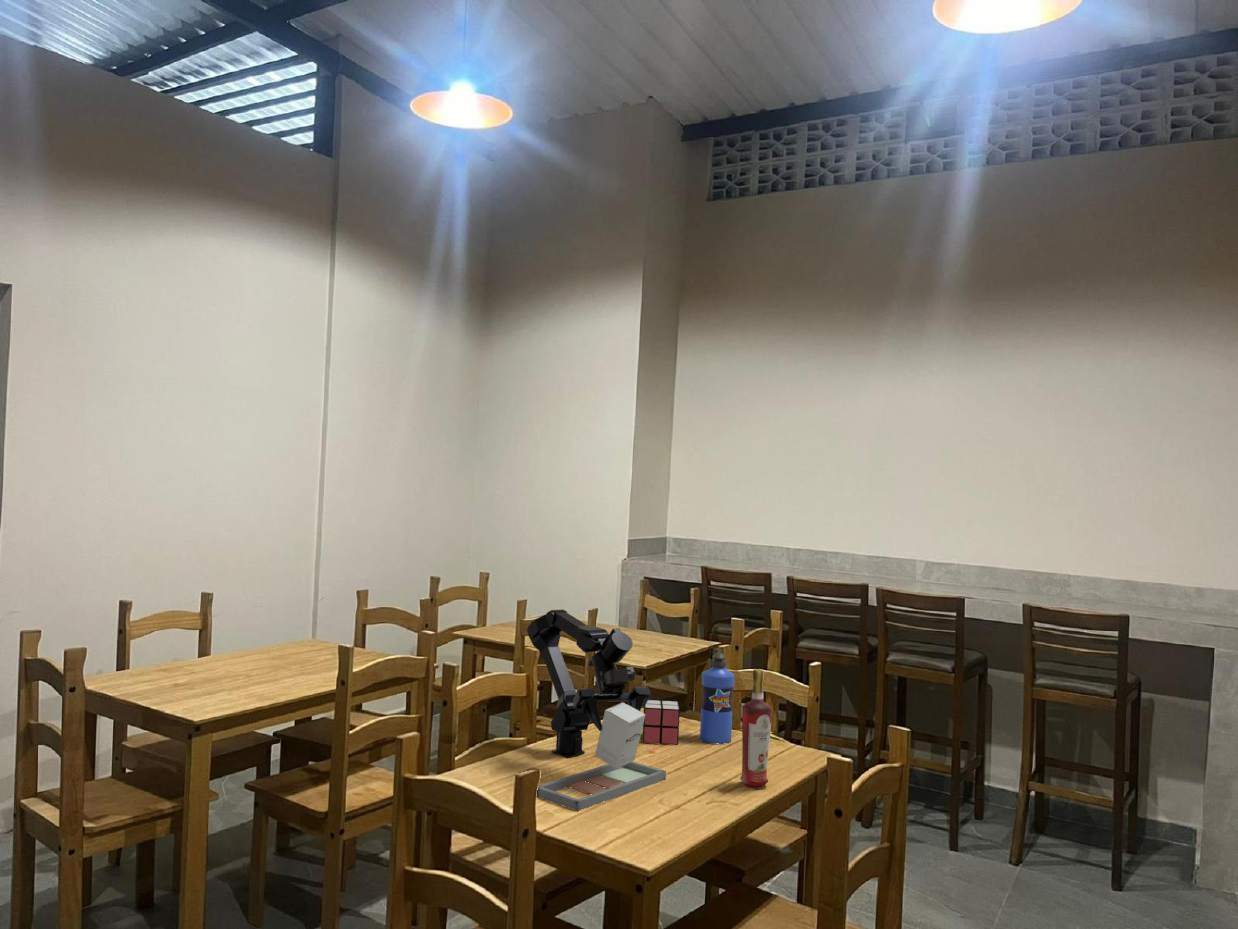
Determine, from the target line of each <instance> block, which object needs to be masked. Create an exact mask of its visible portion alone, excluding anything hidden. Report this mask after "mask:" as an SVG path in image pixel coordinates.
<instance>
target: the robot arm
mask: <svg viewBox="0 0 1238 929" xmlns="http://www.w3.org/2000/svg"><path fill="white" fill-rule="evenodd" d="M562 632H563V633H565V634H566V635H568V636H570V637H571V638H572V639H574V640H575V644H576V646H577V647H578V648H579V649H580V650H581V651H582V652H583V653H594V654H593V655H592V656H591V658H590V660H589V661H588V667H591V668H593V672H594V676H595V682H594V685H595V687H597V690H598V693H595V689H594V688H591V687H588V688H586V687H585V688H578V690H577V691H576V689H575V686H574V684H573V682H572V678H571V675H570V673H569V670H568V668H567V665H566V662H565V660H564V657H563V654H562V651H561V649H560V647H559V644H560V640H561V633H562ZM527 636H528V638H529V640H530V642H531V644H532V646H533V647H534V648H535V649H537V650H538V651H539V652H540V653H541V654H542V658H543V659H544V663H545V665H546V668H547V671H548V673H549V677H550V679H551V682H552V685H553V687H554V690H555V692H556V696H557V704H556V708H555V710H556V714H555V716H553V718H552V719H551V721H550V727H551V730H552V731H555V732H556V742H555V743H556V746H555V749H552V750H551V753H552V754H556V755H559V756H562V757H565V758H572V757H577V756H579V755H583V754H586V751H585V750H583V738H584V737H583V734H582V733H583V731H588V727H589V725H590V721H591V723H592V724H593V725H594V726H595V727H596V728H597V730H598V731H599V732H600V731H601V730H602V720H601V717H600V713H599V710H598V703H601V702H603V703H605V702H606V703H607V702H608V703H609V702H610V703H611V702H613V703H614V702H627V703H628V705H629V706H631V707H633V708H635V709H636V710H638V711H640V712H641V710H642V708H644V706H645V705H646V703H647V701H648V700H650V698H651V696H652V694H651V690H650V688H649V687H648V686H647V685H646V686H633V687H632V689H631V691H630V692H623V690H625V689H626V688H627V687H626V684H629V683H630V682H632V681H633V680H635V679H636V672H635V669H634V666H626V667H625V668H621V669H618V668H617V664H618V663H620V662H621V661H622V660H623V659H624V657H625V656H626V655H627V654H628V653H629V652H630V650H631V649H632V648H633V644H634V643H633V640H632V638H631V637H630V636H629V635H628V634H627V633H625V632H623V631H622V630H621V628H620V627H619V628H618V627H617V628H612V629H611V630H610V633H609V632H608V631H607V630H606V629H605V628H602V627H598V626H591V625H588V624H587V623H584V622H583V621H581V620H579V619H578V618H576V617H575V616H573V615H572V614H570V613H568V611H567V610H565V609H562V608H561V609H551V610H548V611H547V612H546V614H544V615H542V616H540V617H538V618H536V619H534V620H532V621H531V622H530V624H529V625H528V627H527ZM616 663H617V664H616Z"/></svg>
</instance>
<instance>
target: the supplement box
mask: <svg viewBox="0 0 1238 929" xmlns="http://www.w3.org/2000/svg"><path fill="white" fill-rule="evenodd" d="M603 713H604V715H603V718H602V721H601V724H602V730H601V731H599V735H598V740H597V745H596V748H595V749H596V750H595V752H594V756H595V757H596V758H597V759H599V760H600V761H602V762H604V763H605V764H609V765H610V766H612V767H614V768H615V769H617V770H618V769H619V768H621V767H622V766H624V765H626V764H628V763H630V762H632V761H633V762H635V761H636V760H635V759H636V756H637V752H638V748H639V743H640V740H641V736H642V731H643V723H644V719H645V714H644V713H643V712H642V711H641V710H640V711H638V710H636V709H635V708H633V707H631V706H630V705H629V704H626V703H625V702H624V701H621V702H620V703H618V704H616V705H613V706H611V707H609V708H606V709H605V710H604V712H603Z"/></svg>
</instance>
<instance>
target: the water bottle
mask: <svg viewBox="0 0 1238 929" xmlns="http://www.w3.org/2000/svg"><path fill="white" fill-rule="evenodd" d="M712 658H713V659H712V660H711V664H710V665H711V666H712V667H710V668H709V669H707V670H704V671H702V672H701V685H702V703H701V708H700V724H699V726H700V728H699V740H700V739H701V740H702V741H701V740H700V741H701V742H702V743H703V742H704V743H705V742H706V743H707V744H710V743H719V744H718V745H725V744H724V743H728V744H730V743H732V730H733V726H732V725H733V706H732V700H733V699H732V698H733V691H734V688H735V673H733V672H731V671H729V670H728V669H727V668H726V666H727V660H725V659H726V658H727V657H726V655H725V654H724V653H723V652H719V651H718V652H715V653H714V654H713V655H712Z"/></svg>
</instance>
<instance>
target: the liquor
mask: <svg viewBox="0 0 1238 929" xmlns="http://www.w3.org/2000/svg"><path fill="white" fill-rule="evenodd" d="M752 671H753V673H752V677H753V678H752V679H753V685H752V692H751V700H749V701H747V702H746V703H744V704H743V705H742V706H741V712H742V713H741V714H742V716H741V718H742V719H741V720H742V721H741V729H742V730H741V736H742V743H741V744H742V749H741V751H742V756H741V757H742V760H741V762H742V763H741V765H742V766H741V775H740V778H739V779H740V781H741V783H743V785H744V786H745V787H747V788H750V787H751V789H760V788H763V787H764V786H765V785H767V783H769V779H768V776H767V775H768V773H767V772H768V760H769V749H770V738H771V729H772V728H771V727H772V714H773V707H771V706H770V705H769V704H768V703H766V702H765V700H764V685H763V684H764V679H765V678H764V677H765V669H761V668H754V669H752Z"/></svg>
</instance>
